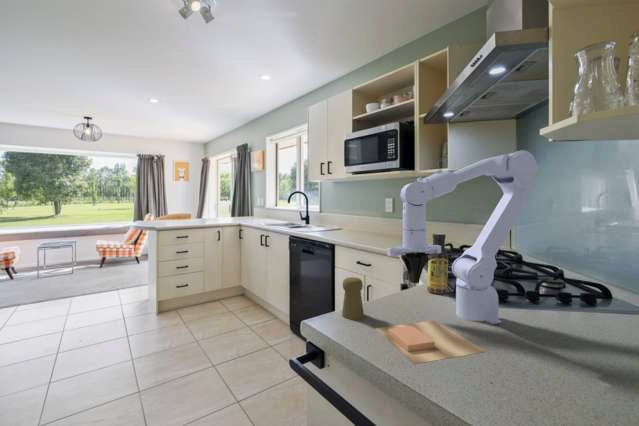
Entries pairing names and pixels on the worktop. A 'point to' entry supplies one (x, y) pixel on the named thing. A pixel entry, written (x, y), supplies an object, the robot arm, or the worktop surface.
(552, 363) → the worktop surface
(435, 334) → the tan cloth
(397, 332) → the tile
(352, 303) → the pepper shaker
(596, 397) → the worktop surface
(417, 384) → the worktop surface
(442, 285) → the sauce bottle
